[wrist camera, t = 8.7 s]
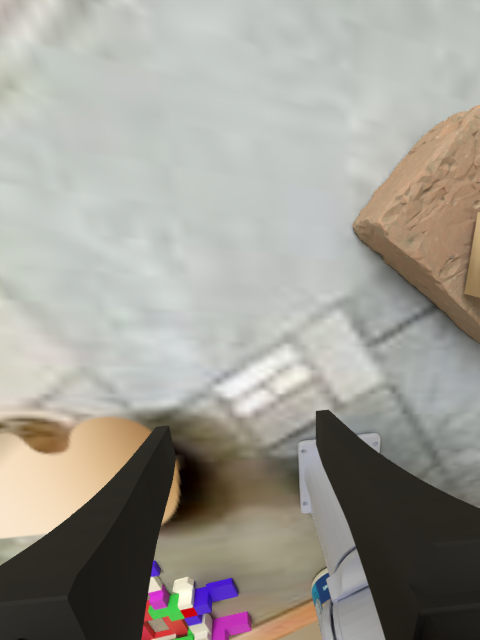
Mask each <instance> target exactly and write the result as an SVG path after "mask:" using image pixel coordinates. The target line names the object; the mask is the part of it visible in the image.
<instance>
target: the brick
mask: <svg viewBox="0 0 480 640" xmlns="http://www.w3.org/2000/svg"><path fill="white" fill-rule="evenodd" d="M478 212H480V105H478V106H475V107H473V108H471V109H470V110H469V111H465V112H460V113H457V114H454V115H453V116H451V117H449V118H448V119H447V120H446V121H442V122H441V123H439V124H437V125H436V126H435V127H434V128H432V129H431V130H430V131H429V132H427V133H426V134H425V135H424V136H423V137H422V138H421V139H420V140H419V141H418V142H417V143H416V144H415V145H414V147H413V148H412V149H411V150H410V151H409V153H408V154H407V155H406V157H405V158H404V159H403V160H402V161H401V162H400V163H399V164H398V165H397V167H396V168H395V169H394V171H393V172H392V173H391V175H390V176H389V178H388V179H387V180H386V181H385V182H384V183H383V184H382V185H381V186H380V187H379V188H378V189H377V190H376V191H375V192H374V194H373V195H372V199H371V200H370V201H369V203H368V204H367V205H366V206H365V207H364V208H363V209H362V210H361V211H360V213H359V216H358V217H357V218H356V220H355V221H354V223H353V225H352V226H353V228H354V231H355V233H356V234H358V237H359V239H361V240H362V241H363V242H365V243H366V244H367V245H368V246H369V247H370V248H371V250H373V251H376V252H378V253H380V254H381V255H382V256H383V260H384V261H385V263H386V264H388V265H389V266H391V267H393V268H394V269H395V270H396V271H397V272H398V273H399V274H401V275H402V276H403V277H404V278H405V279H406V280H407V281H408V282H409V283H410V284H412V285H413V286H415V287H416V288H417V289H418V290H419V291H420V292H421V293H423V294H424V295H425V296H427V297H428V298H429V299H430V300H431V301H432V302H433V303H435V305H436V306H437V307H438V308H439V309H441V310H442V311H444V312H445V313H446V314H447V315H448V316H449V318H450V319H451V320H453V322H454V323H455V324H456V325H457V326H458V327H459V328H460V329H461V330H463V331H464V332H466V333H467V334H468V335H469V336H470V337H472V338H473V339H474V340H475V341H477V342H479V343H480V298H479V297H475V296H471V295H468V294H464V293H465V287H466V281H467V275H468V269H469V262H470V256H471V250H472V244H473V238H474V232H475V226H476V220H477V214H478Z"/></svg>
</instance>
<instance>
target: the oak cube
mask: <svg viewBox="0 0 480 640" xmlns="http://www.w3.org/2000/svg"><path fill="white" fill-rule="evenodd" d="M464 294H468V295H471V296H475V297H479V298H480V212H478V214H477V220H476V226H475V232H474V238H473V244H472V250H471V256H470V262H469V269H468V275H467V281H466V287H465V293H464Z"/></svg>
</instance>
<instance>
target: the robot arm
mask: <svg viewBox="0 0 480 640" xmlns="http://www.w3.org/2000/svg"><path fill="white" fill-rule="evenodd" d="M374 442H375V443H374ZM380 442H381V437H380V436H379V435H378V434H377V433H369V434H360V435H356V434H355V433H354V432H352V431H351V430H350V429H349V428H348V427H347V426H346V425H345V424H343V423H342V422H341V421H340V420H339V419H338V418H337V417H336V416H335V415H334V414H333V413H331V412H330V411H329V410H321V411H316V439H314V440H305V441H301V442H299V443H298V461H299V485H300V508H301V512H302V513H304V514H308V513H311V514H312V517H313V521H314V524H315V528H316V531H317V535H318V538H319V542H320V545H321V548H322V552H323V555H324V559H325V562H326V566H327V569H328V573H329V575H330V577H328V578H327V579H326V581H327V585H328V589H329V592H330V596H331V599H329V600H327V601H326V602H325V603H324V606H323V612H322V624H321V632H322V640H480V508H477V507H475V506H473V505H470V504H468V503H466V502H464V501H461V500H459V499H457V498H455V497H453V496H451V495H449V494H447V493H445V492H443V491H441V490H439V489H437V488H435V487H433V486H431V485H429V484H427V483H426V482H424V481H422V480H420V479H419V478H417V477H415V476H413V475H412V474H410V473H408V472H407V471H405V470H403V469H402V468H400V467H399V466H397V465H396V464H394V463H393V462H391V461H390V460H388V459H387V458H385V457H384V456H383V455H381V454H380ZM302 450H304V451H302ZM175 461H176V457H175V452H174V448H173V443H172V438H171V433H170V429H169V426H159V427H156V428H155V429H154V430H153V431H152V433H151V434H150V435H149V436H148V438H147V439H146V440H145V441H144V443H143V444H142V445H141V446H140V447H139V449H138V450H137V451H136V452H135V453H134V455H133V456H132V457H131V458H130V459H129V461H128V462H127V463H126V464H125V465H124V466H123V467H122V468H121V469H120V471H119V472H118V473H117V474H116V475H115V476H114V477H113V478H112V479H111V480H110V481H109V482H108V483H107V484H106V485H105V486H104V487H103V488H102V489H101V490H100V491H99V492H98V493H97V494H96V495H95V496H94V497H93V498H91V499H90V500H89V501H88V502H87V503H86V504H84V506H82V507H81V508H80V509H78V510H77V511H76V512H75V513H74V514H72V515H71V516H70V517H69V518H68V519H66V520H65V521H64V522H63V523H61V524H60V525H59V526H58V527H56V528H55V529H53V530H52V531H51V532H49V533H48V534H47V535H45V536H44V537H42V538H41V539H40V540H38V541H37V542H35V543H34V544H32V545H31V546H29V547H28V548H26V549H25V550H23V551H22V552H20V553H19V554H17V555H16V556H14V557H13V558H11V559H10V560H8V561H7V562H5V563H4V564H2V565H1V566H0V640H141V639H142V632H143V625H144V618H145V611H146V604H147V597H148V591H149V585H150V578H151V572H152V566H153V561H154V555H155V549H156V544H157V539H158V535H159V531H160V527H161V523H162V519H163V516H164V512H165V507H166V504H167V501H168V497H169V493H170V488H171V485H172V481H173V475H174V468H175Z"/></svg>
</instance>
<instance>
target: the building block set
mask: <svg viewBox="0 0 480 640" xmlns="http://www.w3.org/2000/svg"><path fill="white" fill-rule="evenodd" d="M160 570H161V569H160V568H159V566H158V564H157V563H156V561H153V566H152V572H151V578H150V585H149V591H148V594H149V595H150V600H148V601H147V604H146V611H145V618H144V625H143V632H142V639H141V640H229V636H230V635H235V634H239V633H244V632H248V631H251V618H250V616H249V614H248V612H243V613H239V614H234V615H230V616H226V617H221V618H217V619H212V617H211V616H210V614H209V613H210V612H212V601H213V602H216V601H220V600H224V599H229V598H233V597H237V596H238V590H237V588H236V586H235V584H234V582H233V580H232V578H229V579H225V580H221V581H217V582H213V583H208V584H206V587H203V588H198V589H195V588H194V586H193V584H194V580H192V579H191V578H189V577H185V578H181V579H177V580H175V582H174V585H173V590H172V591H173V592H176V593H178V594H173V595H169V593H168V592H167V590H166V589H165V587H164V586H163V584H162V582H161V581H160V579H159V578H158V575H160ZM158 618H162V619H163V620H164V621H165V623H166V624H167V626H168V627H169V629H170V630H166V631H161V632H157V633H155V632H154V631H153V630H152V628H151V627H150V625H149V624H148V623H147V621H150V620H154V619H158Z"/></svg>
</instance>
